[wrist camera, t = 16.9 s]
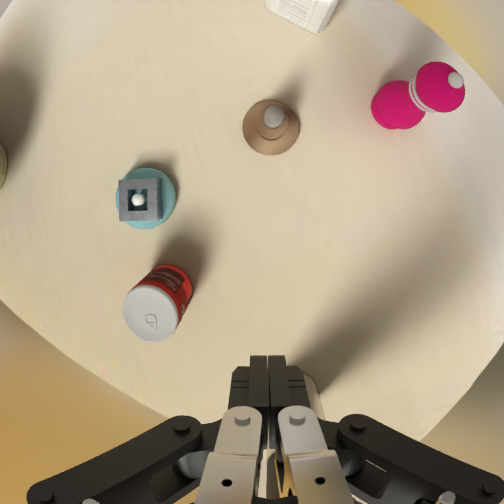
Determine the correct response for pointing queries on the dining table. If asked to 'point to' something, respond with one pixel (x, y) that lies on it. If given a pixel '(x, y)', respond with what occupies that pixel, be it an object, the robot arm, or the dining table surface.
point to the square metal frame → (153, 200)
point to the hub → (141, 196)
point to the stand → (270, 127)
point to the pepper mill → (418, 96)
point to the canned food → (157, 303)
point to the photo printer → (304, 12)
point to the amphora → (2, 165)
